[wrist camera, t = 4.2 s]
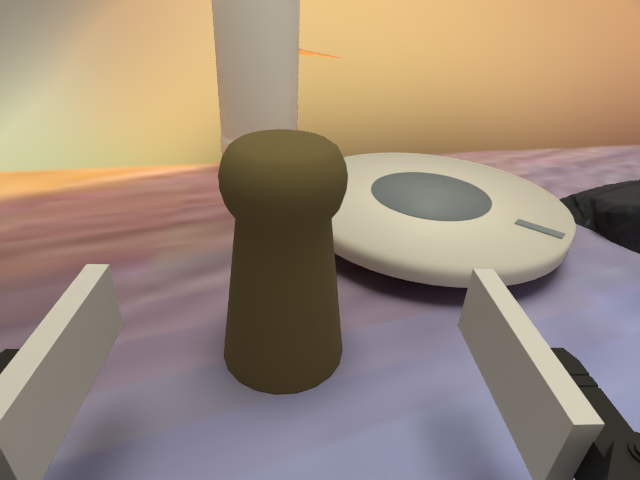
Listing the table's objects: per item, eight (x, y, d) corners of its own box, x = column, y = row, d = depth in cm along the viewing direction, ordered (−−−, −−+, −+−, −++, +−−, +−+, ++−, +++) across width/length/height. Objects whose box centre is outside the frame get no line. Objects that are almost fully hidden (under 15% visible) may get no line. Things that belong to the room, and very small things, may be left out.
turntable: (243, 211, 32) (242, 192, 31) (386, 153, 45) (388, 139, 45) (513, 337, 21) (522, 312, 20) (595, 212, 35) (602, 194, 34)
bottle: (206, 162, 45) (169, -243, 30) (261, 147, 50) (252, -203, 36) (258, 183, 41) (245, -278, 26) (312, 164, 46) (327, -227, 31)
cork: (366, 362, 21) (394, 147, 16) (255, 415, 18) (244, 173, 13) (303, 297, 26) (309, 111, 20) (206, 332, 23) (181, 125, 17)
